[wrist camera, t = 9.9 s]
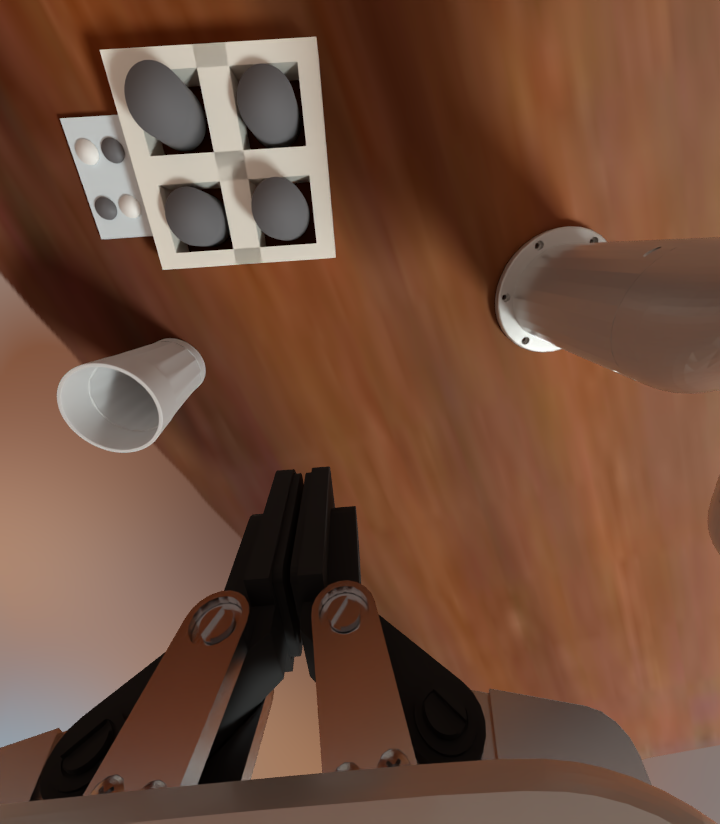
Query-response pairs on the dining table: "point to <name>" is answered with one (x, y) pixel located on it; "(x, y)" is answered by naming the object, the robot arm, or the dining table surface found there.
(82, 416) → the cup
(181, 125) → the button camera
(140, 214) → the card
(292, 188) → the button
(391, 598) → the dining table surface
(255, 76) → the camera button
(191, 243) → the button
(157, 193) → the board
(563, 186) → the dining table surface
